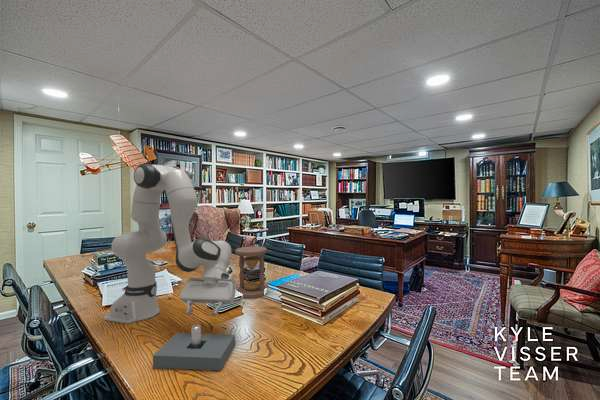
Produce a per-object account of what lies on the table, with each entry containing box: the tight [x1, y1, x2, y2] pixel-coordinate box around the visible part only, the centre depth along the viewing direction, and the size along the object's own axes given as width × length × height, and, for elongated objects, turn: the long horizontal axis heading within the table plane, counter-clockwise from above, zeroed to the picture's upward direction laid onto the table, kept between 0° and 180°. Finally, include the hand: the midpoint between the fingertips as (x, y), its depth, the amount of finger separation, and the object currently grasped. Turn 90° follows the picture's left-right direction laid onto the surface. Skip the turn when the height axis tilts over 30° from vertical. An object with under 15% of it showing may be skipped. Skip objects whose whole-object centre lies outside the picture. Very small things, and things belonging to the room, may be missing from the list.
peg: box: [190, 324, 202, 349], centre depth 90 cm, size 3×3×10 cm
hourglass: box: [235, 245, 268, 300], centre depth 149 cm, size 18×18×25 cm
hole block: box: [152, 332, 236, 372], centre depth 89 cm, size 22×14×4 cm, turn 85°
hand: (201, 314), depth 94 cm, fingers open, 8 cm apart
